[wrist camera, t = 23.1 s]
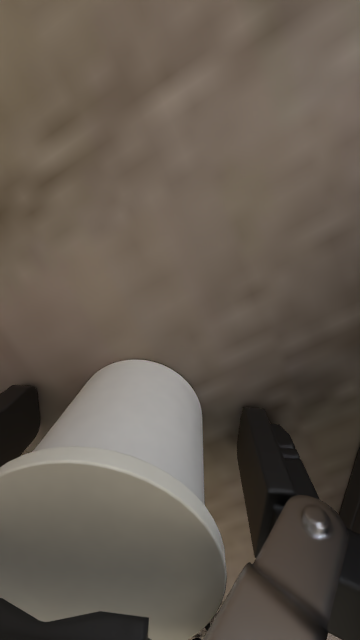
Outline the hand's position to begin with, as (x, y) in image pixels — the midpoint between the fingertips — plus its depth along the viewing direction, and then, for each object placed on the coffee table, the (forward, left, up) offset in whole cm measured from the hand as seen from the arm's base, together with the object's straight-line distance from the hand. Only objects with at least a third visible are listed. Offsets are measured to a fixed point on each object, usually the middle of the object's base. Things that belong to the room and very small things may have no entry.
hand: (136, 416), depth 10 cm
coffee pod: (0, 0, 0) cm, 0 cm away
